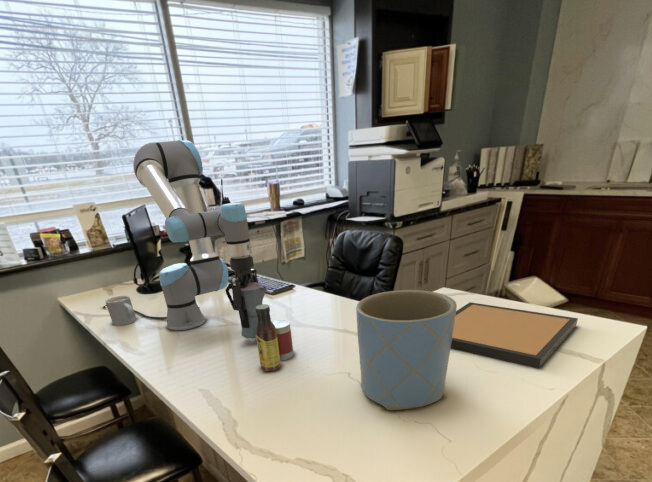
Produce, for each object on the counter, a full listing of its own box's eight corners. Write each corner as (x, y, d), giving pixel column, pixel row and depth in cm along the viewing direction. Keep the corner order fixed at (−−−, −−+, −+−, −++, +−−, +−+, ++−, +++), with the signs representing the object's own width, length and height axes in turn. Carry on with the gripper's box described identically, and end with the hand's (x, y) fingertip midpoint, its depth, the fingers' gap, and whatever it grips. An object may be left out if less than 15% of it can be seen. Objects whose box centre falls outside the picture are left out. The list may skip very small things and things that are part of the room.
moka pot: (270, 339, 140) (262, 281, 130) (228, 339, 143) (217, 282, 133) (277, 329, 148) (270, 273, 137) (237, 329, 151) (227, 275, 141)
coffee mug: (109, 322, 181) (101, 300, 175) (131, 315, 186) (124, 294, 181) (121, 328, 172) (113, 305, 167) (143, 321, 177) (136, 299, 172)
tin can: (269, 359, 132) (264, 327, 126) (278, 350, 137) (273, 319, 131) (288, 361, 129) (284, 328, 124) (296, 352, 135) (293, 320, 129)
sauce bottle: (261, 364, 129) (251, 303, 119) (280, 362, 129) (272, 301, 119) (261, 374, 123) (250, 310, 113) (281, 371, 123) (273, 308, 113)
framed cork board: (538, 368, 111) (575, 326, 132) (541, 358, 109) (578, 318, 130) (421, 341, 133) (468, 309, 154) (421, 333, 131) (469, 302, 152)
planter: (466, 401, 100) (478, 309, 88) (381, 423, 96) (382, 329, 83) (418, 364, 119) (423, 284, 107) (345, 381, 114) (342, 299, 102)
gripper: (234, 264, 122) (246, 335, 134) (265, 249, 138) (273, 313, 150) (213, 264, 125) (227, 333, 137) (245, 249, 141) (255, 312, 153)
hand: (251, 322), depth 143 cm, fingers closed on moka pot, 8 cm apart
